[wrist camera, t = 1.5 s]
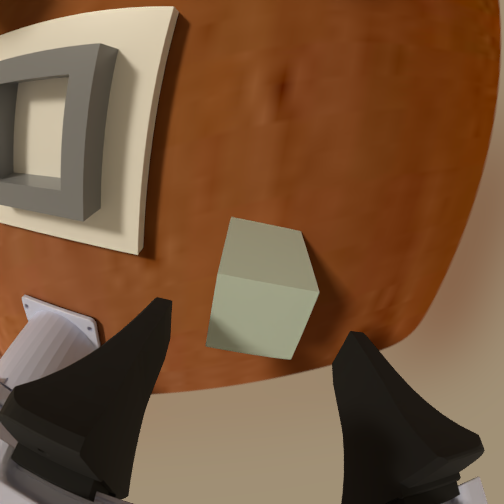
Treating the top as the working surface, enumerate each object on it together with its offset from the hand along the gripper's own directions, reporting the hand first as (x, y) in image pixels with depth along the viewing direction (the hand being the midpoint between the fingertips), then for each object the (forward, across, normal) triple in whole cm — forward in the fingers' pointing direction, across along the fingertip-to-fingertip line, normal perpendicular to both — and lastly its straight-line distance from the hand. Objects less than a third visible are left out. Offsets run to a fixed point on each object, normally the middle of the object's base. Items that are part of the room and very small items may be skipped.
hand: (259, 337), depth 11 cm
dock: (+7, +14, -6) cm, 17 cm away
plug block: (+7, 0, 0) cm, 7 cm away
